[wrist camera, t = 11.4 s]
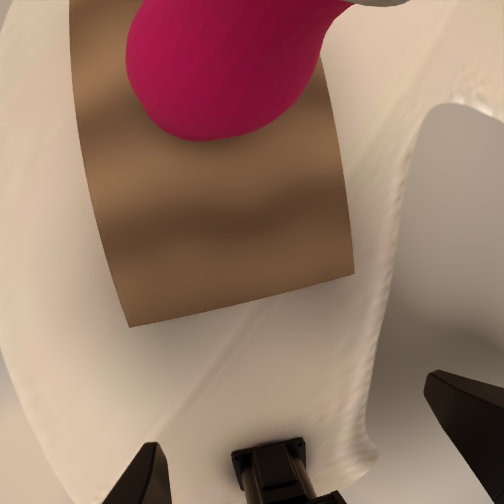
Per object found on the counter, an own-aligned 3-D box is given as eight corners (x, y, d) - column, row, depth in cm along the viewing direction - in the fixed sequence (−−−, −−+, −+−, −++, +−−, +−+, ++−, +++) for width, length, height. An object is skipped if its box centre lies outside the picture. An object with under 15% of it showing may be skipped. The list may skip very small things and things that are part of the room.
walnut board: (338, 262, 22) (354, 273, 19) (135, 310, 20) (129, 327, 18) (279, -31, 16) (288, -49, 13) (80, 2, 14) (69, -14, 12)
